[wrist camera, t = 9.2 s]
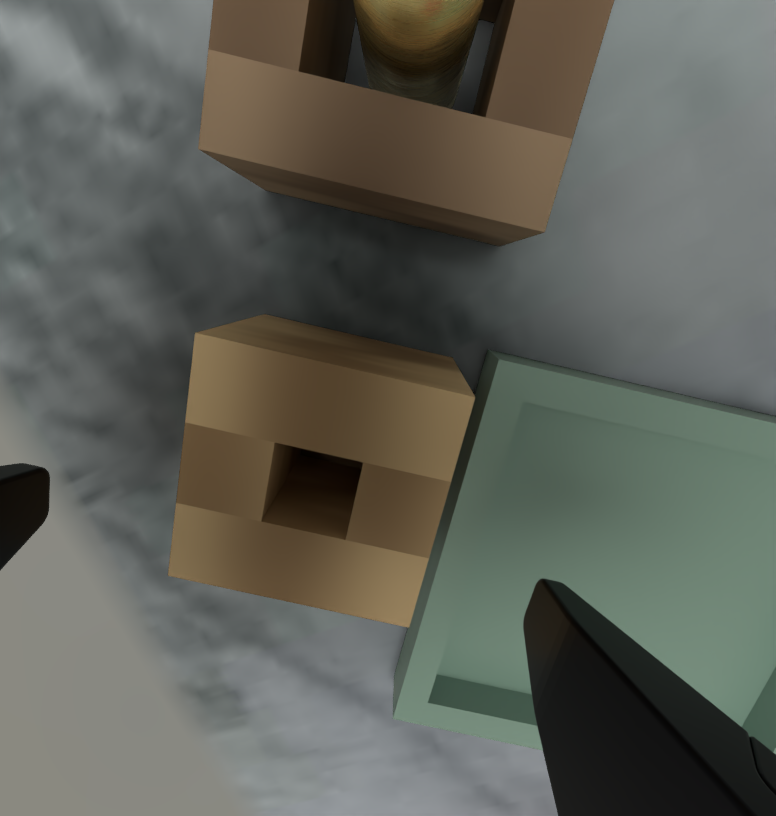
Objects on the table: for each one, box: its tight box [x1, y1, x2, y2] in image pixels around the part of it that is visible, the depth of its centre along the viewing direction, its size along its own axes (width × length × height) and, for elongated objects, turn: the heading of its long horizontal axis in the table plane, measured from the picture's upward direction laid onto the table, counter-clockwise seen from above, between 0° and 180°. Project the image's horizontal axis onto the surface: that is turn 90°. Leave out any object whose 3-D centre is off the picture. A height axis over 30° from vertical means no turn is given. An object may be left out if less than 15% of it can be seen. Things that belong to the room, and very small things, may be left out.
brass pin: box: [353, 0, 484, 109], centre depth 9 cm, size 2×2×8 cm
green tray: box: [393, 350, 776, 754], centre depth 16 cm, size 14×13×2 cm
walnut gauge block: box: [198, 0, 614, 246], centre depth 11 cm, size 7×7×5 cm
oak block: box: [168, 314, 475, 628], centre depth 13 cm, size 6×6×5 cm
